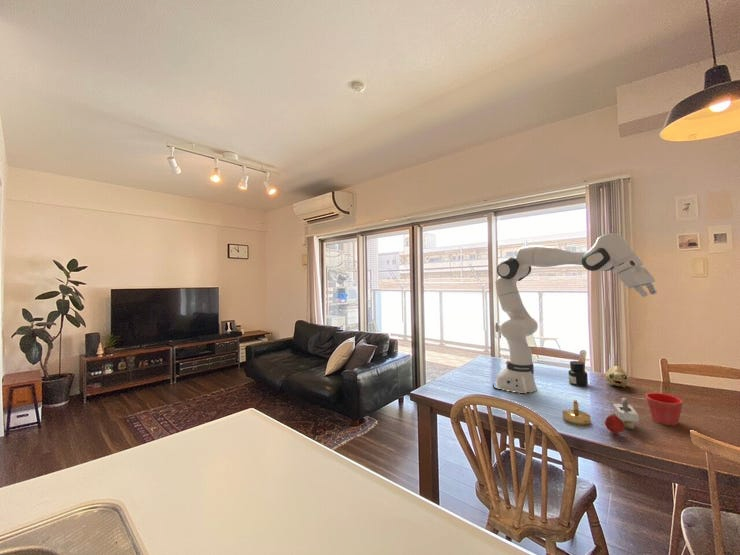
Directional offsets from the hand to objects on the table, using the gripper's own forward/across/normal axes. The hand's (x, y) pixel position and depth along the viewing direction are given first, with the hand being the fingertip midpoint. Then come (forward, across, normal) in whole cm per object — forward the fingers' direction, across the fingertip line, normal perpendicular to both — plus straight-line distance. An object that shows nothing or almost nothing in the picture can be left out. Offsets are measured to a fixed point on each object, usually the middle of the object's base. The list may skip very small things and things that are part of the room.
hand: (650, 295), depth 124 cm
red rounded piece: (+43, +21, -30) cm, 57 cm away
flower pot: (+47, -5, -24) cm, 53 cm away
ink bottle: (+29, -25, -61) cm, 72 cm away
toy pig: (+36, -36, -48) cm, 70 cm away
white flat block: (+40, +11, -29) cm, 50 cm away
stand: (+43, +11, -30) cm, 54 cm away
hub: (+37, +21, -43) cm, 60 cm away
